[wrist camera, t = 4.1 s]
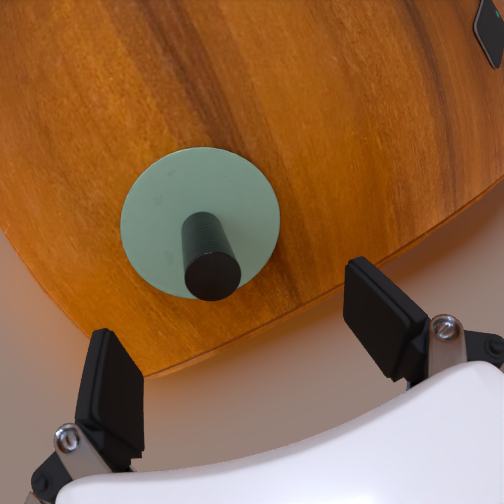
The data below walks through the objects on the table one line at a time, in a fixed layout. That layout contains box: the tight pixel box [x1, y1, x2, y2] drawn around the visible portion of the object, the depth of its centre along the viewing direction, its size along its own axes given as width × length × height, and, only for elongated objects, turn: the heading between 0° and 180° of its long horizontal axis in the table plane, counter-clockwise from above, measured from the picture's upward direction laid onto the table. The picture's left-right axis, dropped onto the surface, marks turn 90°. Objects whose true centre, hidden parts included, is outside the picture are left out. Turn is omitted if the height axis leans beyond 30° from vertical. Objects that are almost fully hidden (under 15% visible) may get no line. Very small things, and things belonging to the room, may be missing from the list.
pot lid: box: [120, 147, 280, 301], centre depth 16 cm, size 11×11×7 cm
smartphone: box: [474, 0, 504, 68], centre depth 14 cm, size 8×1×15 cm
